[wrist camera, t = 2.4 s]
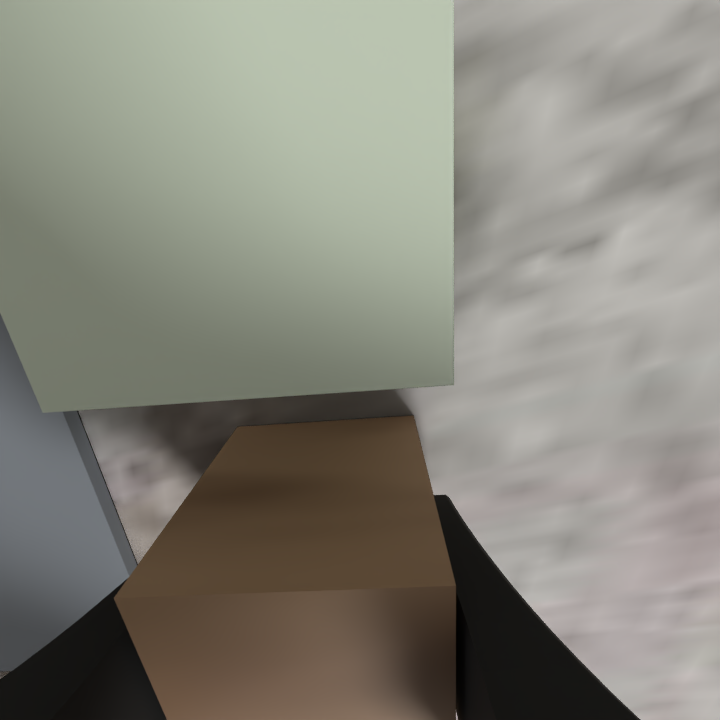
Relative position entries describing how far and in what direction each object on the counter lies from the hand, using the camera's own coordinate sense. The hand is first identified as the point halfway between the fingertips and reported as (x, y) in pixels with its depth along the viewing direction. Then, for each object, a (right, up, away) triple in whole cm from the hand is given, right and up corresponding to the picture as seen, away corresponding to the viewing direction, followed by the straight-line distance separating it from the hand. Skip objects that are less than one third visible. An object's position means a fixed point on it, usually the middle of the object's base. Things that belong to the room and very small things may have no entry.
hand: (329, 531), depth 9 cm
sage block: (-1, +8, -1) cm, 8 cm away
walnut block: (0, 0, +1) cm, 1 cm away
